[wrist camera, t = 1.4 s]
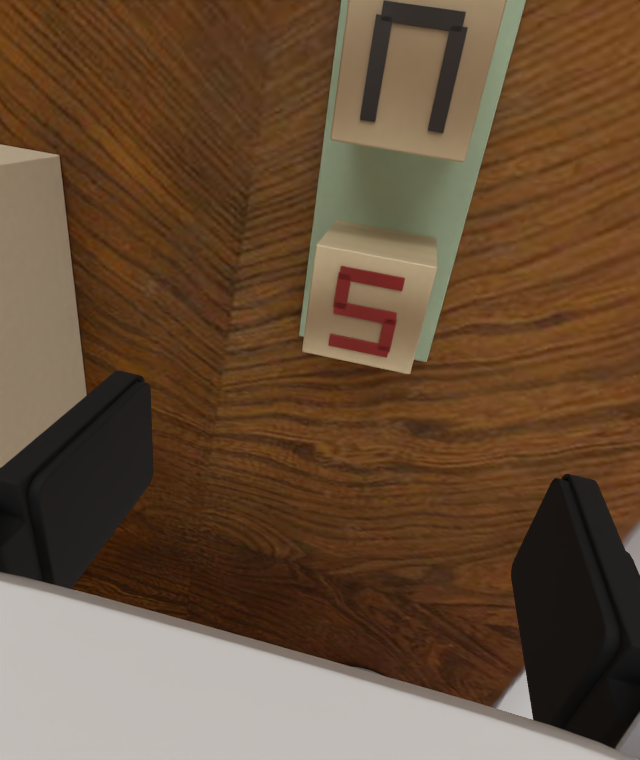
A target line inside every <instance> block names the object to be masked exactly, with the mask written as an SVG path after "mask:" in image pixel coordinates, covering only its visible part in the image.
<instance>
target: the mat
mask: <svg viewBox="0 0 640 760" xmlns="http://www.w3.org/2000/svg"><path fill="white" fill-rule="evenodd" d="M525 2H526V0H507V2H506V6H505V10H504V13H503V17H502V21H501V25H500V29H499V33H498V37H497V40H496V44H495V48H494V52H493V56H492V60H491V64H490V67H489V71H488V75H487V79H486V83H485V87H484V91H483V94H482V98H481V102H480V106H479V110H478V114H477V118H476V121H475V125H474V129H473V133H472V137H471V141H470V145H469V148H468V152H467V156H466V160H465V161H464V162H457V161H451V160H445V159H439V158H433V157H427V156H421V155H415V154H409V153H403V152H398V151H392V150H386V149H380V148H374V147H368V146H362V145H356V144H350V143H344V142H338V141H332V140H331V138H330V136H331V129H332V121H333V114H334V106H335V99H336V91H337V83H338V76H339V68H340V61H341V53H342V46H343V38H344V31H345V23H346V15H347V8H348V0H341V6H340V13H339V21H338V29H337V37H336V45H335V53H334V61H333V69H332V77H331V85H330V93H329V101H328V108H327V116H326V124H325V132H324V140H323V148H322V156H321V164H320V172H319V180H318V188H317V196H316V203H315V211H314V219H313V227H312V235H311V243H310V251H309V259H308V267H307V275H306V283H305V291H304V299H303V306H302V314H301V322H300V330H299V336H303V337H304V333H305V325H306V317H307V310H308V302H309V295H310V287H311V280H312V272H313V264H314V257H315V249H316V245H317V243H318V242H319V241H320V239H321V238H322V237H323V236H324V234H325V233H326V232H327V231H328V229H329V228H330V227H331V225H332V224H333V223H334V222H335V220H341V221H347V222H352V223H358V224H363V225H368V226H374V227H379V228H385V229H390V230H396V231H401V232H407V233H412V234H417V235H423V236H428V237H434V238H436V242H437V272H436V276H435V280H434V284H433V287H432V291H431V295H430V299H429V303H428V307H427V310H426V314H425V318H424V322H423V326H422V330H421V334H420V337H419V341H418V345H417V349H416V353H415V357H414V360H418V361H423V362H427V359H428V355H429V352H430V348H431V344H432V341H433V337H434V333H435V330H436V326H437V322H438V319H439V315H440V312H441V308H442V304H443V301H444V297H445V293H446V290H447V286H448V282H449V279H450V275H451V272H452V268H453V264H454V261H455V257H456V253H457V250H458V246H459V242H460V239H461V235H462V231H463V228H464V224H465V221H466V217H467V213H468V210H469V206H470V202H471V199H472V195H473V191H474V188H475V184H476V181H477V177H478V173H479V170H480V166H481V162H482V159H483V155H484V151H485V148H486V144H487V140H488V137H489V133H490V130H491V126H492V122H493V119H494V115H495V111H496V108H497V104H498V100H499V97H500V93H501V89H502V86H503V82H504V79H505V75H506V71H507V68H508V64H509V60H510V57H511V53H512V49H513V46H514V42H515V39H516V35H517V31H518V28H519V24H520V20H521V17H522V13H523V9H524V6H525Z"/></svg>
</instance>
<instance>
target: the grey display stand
mask: <svg viewBox="0 0 640 760" xmlns="http://www.w3.org/2000/svg"><path fill="white" fill-rule="evenodd" d="M86 396H87V393H86V384H85V375H84V366H83V357H82V349H81V340H80V331H79V322H78V314H77V305H76V296H75V287H74V279H73V270H72V261H71V252H70V244H69V235H68V226H67V217H66V208H65V200H64V191H63V182H62V173H61V165H60V156H59V155H56V154H50V153H45V152H39V151H34V150H28V149H23V148H17V147H12V146H6V145H1V144H0V468H1V467H2V466H4V465H5V464H6V463H7V462H8V461H9V460H11V459H12V458H13V457H14V456H15V455H17V454H18V453H19V452H20V451H21V450H23V449H24V448H25V447H26V446H27V445H28V444H30V443H31V442H32V441H33V440H34V439H36V438H37V437H38V436H39V435H40V434H42V433H43V432H44V431H45V430H46V429H47V428H49V427H50V426H51V425H52V424H53V423H55V422H56V421H57V420H58V419H59V418H61V417H62V416H63V415H64V414H65V413H67V412H68V411H69V410H70V409H71V408H72V407H74V406H75V405H76V404H77V403H78V402H80V401H81V400H82V399H83V398H84V397H86Z"/></svg>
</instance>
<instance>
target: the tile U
mask: <svg viewBox="0 0 640 760" xmlns="http://www.w3.org/2000/svg"><path fill="white" fill-rule="evenodd" d="M506 2H507V0H348V8H347V15H346V23H345V31H344V38H343V46H342V53H341V61H340V68H339V76H338V83H337V91H336V99H335V106H334V114H333V121H332V129H331V136H330V138H331V140H332V141H338V142H344V143H350V144H356V145H362V146H368V147H374V148H380V149H386V150H392V151H398V152H403V153H409V154H415V155H421V156H427V157H433V158H439V159H445V160H451V161H457V162H464V161H465V160H466V156H467V152H468V148H469V145H470V141H471V137H472V133H473V129H474V125H475V121H476V118H477V114H478V110H479V106H480V102H481V98H482V94H483V91H484V87H485V83H486V79H487V75H488V71H489V67H490V64H491V60H492V56H493V52H494V48H495V44H496V40H497V37H498V33H499V29H500V25H501V21H502V17H503V13H504V10H505V6H506Z"/></svg>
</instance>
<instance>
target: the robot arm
mask: <svg viewBox="0 0 640 760" xmlns="http://www.w3.org/2000/svg"><path fill="white" fill-rule="evenodd" d="M152 476H153V448H152V419H151V391H150V386H149V384H148V383H145V382H144V379H143V377H142V376H140V375H136V374H132V373H127V372H123V371H116V372H114V373H113V374H112V375H110V376H109V377H108V378H107V379H106V380H105V381H103V382H102V383H101V384H100V385H99V386H97V387H96V388H95V389H94V390H93V391H91V392H90V393H89V394H88V395H87V396H86V397H84V398H83V399H82V400H81V401H80V402H78V403H77V404H76V405H75V406H74V407H72V408H71V409H70V410H69V411H68V412H67V413H65V414H64V415H63V416H62V417H61V418H59V419H58V420H57V421H56V422H55V423H53V424H52V425H51V426H50V427H49V428H47V429H46V430H45V431H44V432H43V433H42V434H40V435H39V436H38V437H37V438H36V439H34V440H33V441H32V442H31V443H30V444H28V445H27V446H26V447H25V448H24V449H23V450H21V451H20V452H19V453H18V454H17V455H15V456H14V457H13V458H12V459H11V460H9V461H8V462H7V463H6V464H5V465H4V466H2V467H1V468H0V760H640V575H639V573H638V571H637V568H636V566H635V564H634V561H633V559H632V557H631V556H630V554H629V553H628V552H626V551H625V549H624V546H623V544H622V541H621V539H620V537H619V534H618V532H617V530H616V527H615V525H614V522H613V520H612V518H611V515H610V513H609V510H608V508H607V506H606V503H605V501H604V498H603V496H602V494H601V491H600V489H599V486H598V484H597V483H596V481H594V480H592V479H588V478H583V477H579V476H575V475H570V474H565V475H564V476H563V477H562V478H561V479H558V478H555V479H554V480H553V481H552V483H551V484H550V486H549V489H548V491H547V493H546V495H545V497H544V499H543V501H542V503H541V505H540V507H539V509H538V511H537V513H536V516H535V518H534V520H533V522H532V524H531V526H530V528H529V530H528V532H527V534H526V536H525V538H524V540H523V543H522V545H521V547H520V549H519V551H518V553H517V555H516V557H515V559H514V562H513V565H512V570H511V579H512V585H513V592H514V598H515V605H516V611H517V618H518V624H519V630H520V637H521V643H522V650H523V656H524V663H525V669H526V675H527V681H528V688H529V695H530V701H531V708H532V713H533V720H531V719H528V718H525V717H522V716H518V715H515V714H512V713H508V712H505V711H502V710H499V709H495V708H492V707H489V706H485V705H482V704H479V703H476V702H472V701H469V700H465V699H462V698H458V697H455V696H451V695H448V694H445V693H441V692H438V691H434V690H431V689H427V688H424V687H420V686H417V685H413V684H410V683H406V682H403V681H399V680H396V679H392V678H389V677H385V676H382V675H378V674H375V673H371V672H368V671H364V670H361V669H357V668H354V667H350V666H347V665H343V664H340V663H336V662H333V661H329V660H326V659H322V658H319V657H315V656H312V655H308V654H304V653H301V652H297V651H294V650H290V649H287V648H283V647H280V646H276V645H273V644H269V643H265V642H262V641H258V640H255V639H251V638H248V637H244V636H240V635H237V634H233V633H230V632H226V631H223V630H219V629H215V628H212V627H208V626H205V625H201V624H198V623H194V622H190V621H187V620H183V619H179V618H176V617H172V616H168V615H165V614H161V613H158V612H154V611H150V610H147V609H143V608H139V607H136V606H132V605H128V604H125V603H121V602H118V601H114V600H110V599H107V598H103V597H99V596H96V595H92V594H88V593H84V592H80V591H76V590H73V589H71V588H72V587H73V586H74V584H75V583H76V582H77V580H78V579H79V578H80V576H81V575H82V574H83V572H84V571H85V570H86V568H87V567H88V566H89V564H90V563H91V562H92V560H93V559H94V558H95V556H96V555H97V554H98V552H99V551H100V550H101V548H102V547H103V546H104V544H105V543H106V542H107V540H108V539H109V538H110V536H111V535H112V534H113V532H114V531H115V530H116V528H117V527H118V526H119V524H120V523H121V522H122V520H123V519H124V518H125V516H126V515H127V514H128V512H129V511H130V510H131V508H132V507H133V506H134V504H135V503H136V502H137V500H138V499H139V498H140V496H141V495H142V494H143V492H144V491H145V490H146V488H147V487H148V485H149V484H150V482H151V479H152Z"/></svg>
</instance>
